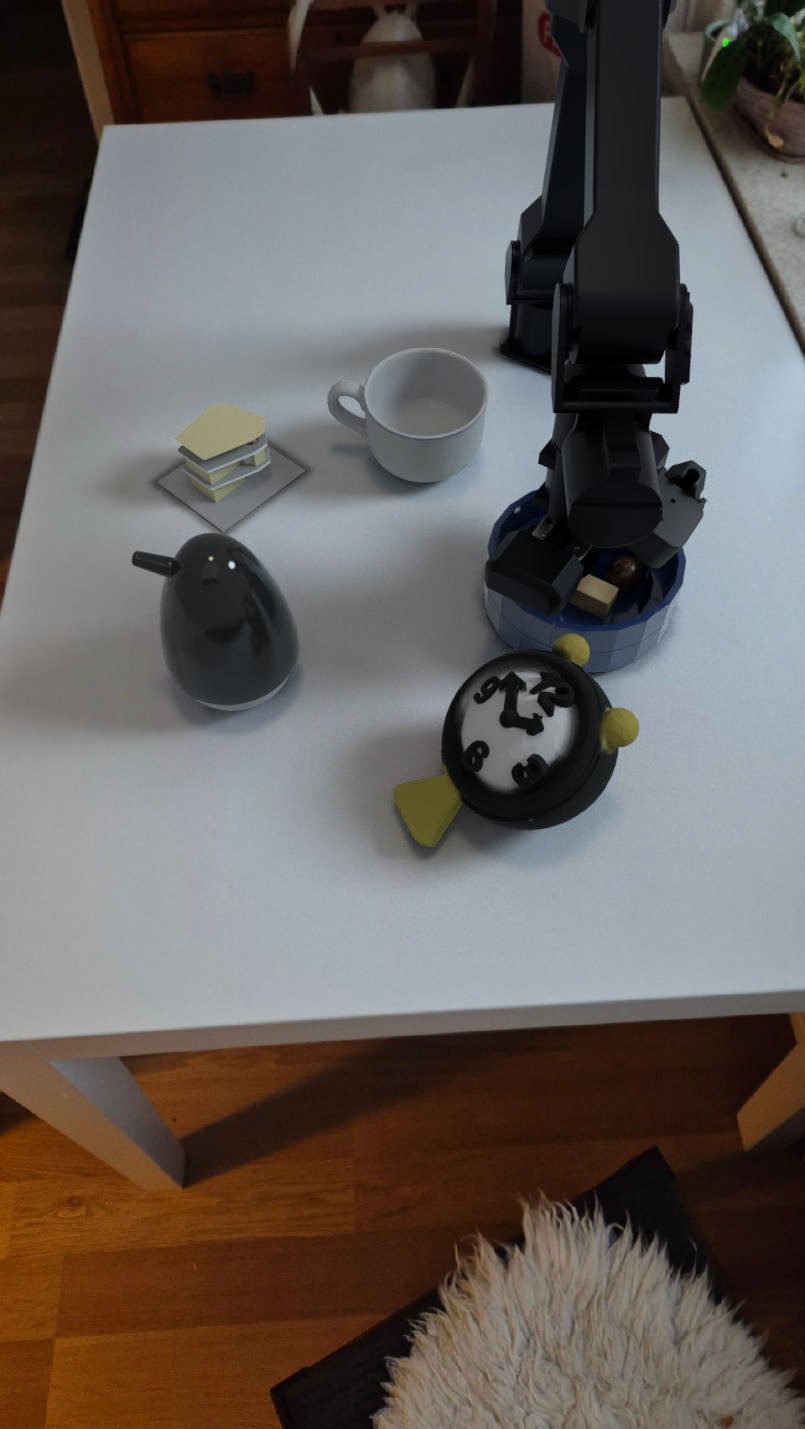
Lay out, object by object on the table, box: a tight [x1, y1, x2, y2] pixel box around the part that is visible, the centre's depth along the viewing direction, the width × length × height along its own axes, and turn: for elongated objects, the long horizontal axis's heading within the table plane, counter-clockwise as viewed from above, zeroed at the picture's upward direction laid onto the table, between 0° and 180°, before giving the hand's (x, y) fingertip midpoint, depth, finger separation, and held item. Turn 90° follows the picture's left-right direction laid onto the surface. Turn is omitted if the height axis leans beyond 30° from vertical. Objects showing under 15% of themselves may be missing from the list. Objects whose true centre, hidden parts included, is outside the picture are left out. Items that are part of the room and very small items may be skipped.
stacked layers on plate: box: [157, 403, 306, 533], centre depth 89 cm, size 10×9×6 cm
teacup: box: [326, 346, 489, 483], centre depth 89 cm, size 14×11×8 cm
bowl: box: [483, 488, 687, 673], centre depth 81 cm, size 15×15×6 cm
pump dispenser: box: [130, 532, 300, 712], centre depth 73 cm, size 10×10×15 cm
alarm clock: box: [392, 633, 640, 848], centre depth 70 cm, size 12×15×15 cm
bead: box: [605, 555, 643, 592], centre depth 82 cm, size 3×3×3 cm
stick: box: [568, 574, 619, 619], centre depth 82 cm, size 8×2×2 cm, turn 57°
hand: (565, 582), depth 82 cm, fingers closed on stick, 2 cm apart
